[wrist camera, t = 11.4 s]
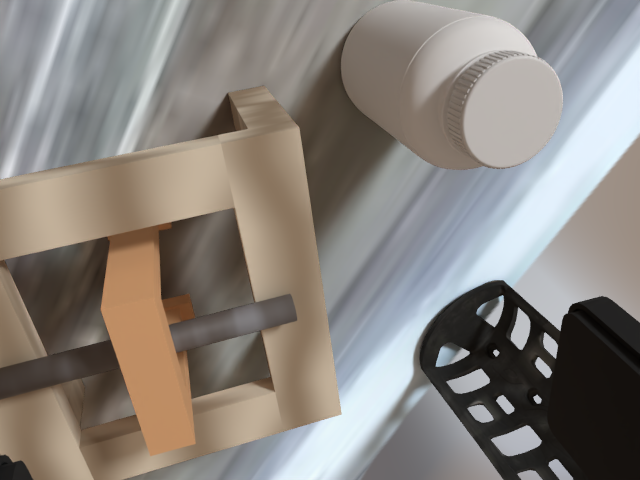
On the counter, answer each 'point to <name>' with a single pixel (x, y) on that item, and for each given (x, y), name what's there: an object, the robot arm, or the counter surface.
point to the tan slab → (148, 339)
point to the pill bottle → (451, 84)
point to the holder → (499, 378)
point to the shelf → (157, 201)
